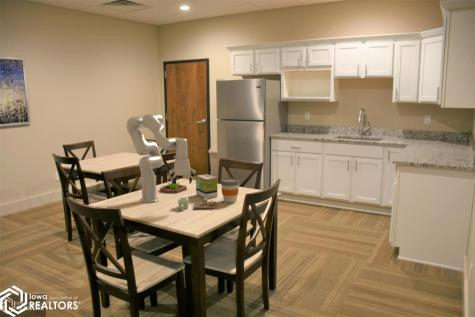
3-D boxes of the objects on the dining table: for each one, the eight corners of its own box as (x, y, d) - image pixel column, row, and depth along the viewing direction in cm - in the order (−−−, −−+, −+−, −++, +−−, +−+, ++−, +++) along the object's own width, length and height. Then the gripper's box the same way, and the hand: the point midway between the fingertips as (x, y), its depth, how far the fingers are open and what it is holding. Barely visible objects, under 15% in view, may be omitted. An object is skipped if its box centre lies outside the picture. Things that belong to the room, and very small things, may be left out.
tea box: (195, 194, 281) (195, 175, 279) (207, 192, 287) (206, 173, 285) (206, 199, 269) (205, 178, 267) (218, 196, 275) (217, 177, 273)
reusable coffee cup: (237, 203, 257) (236, 182, 254) (219, 203, 259) (218, 181, 257) (240, 199, 269) (240, 178, 266) (223, 198, 271) (223, 177, 269)
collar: (179, 206, 252) (179, 197, 251) (188, 206, 252) (188, 197, 251) (177, 211, 242) (177, 202, 241) (187, 210, 242) (186, 201, 241)
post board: (195, 203, 258) (195, 196, 257) (215, 203, 259) (215, 195, 258) (193, 209, 244) (193, 201, 243) (215, 209, 245) (215, 201, 244)
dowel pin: (210, 205, 250) (210, 200, 249) (213, 205, 250) (213, 200, 249) (210, 206, 248) (210, 201, 247) (213, 206, 248) (213, 201, 247)
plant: (155, 192, 290) (155, 178, 288) (167, 186, 308) (167, 173, 306) (179, 194, 284) (179, 179, 282) (190, 188, 302) (189, 174, 301)
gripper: (167, 158, 239) (168, 185, 242) (194, 158, 240) (195, 184, 242) (169, 156, 247) (170, 182, 249) (195, 156, 247) (196, 182, 250)
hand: (182, 183), depth 246 cm, fingers open, 9 cm apart
